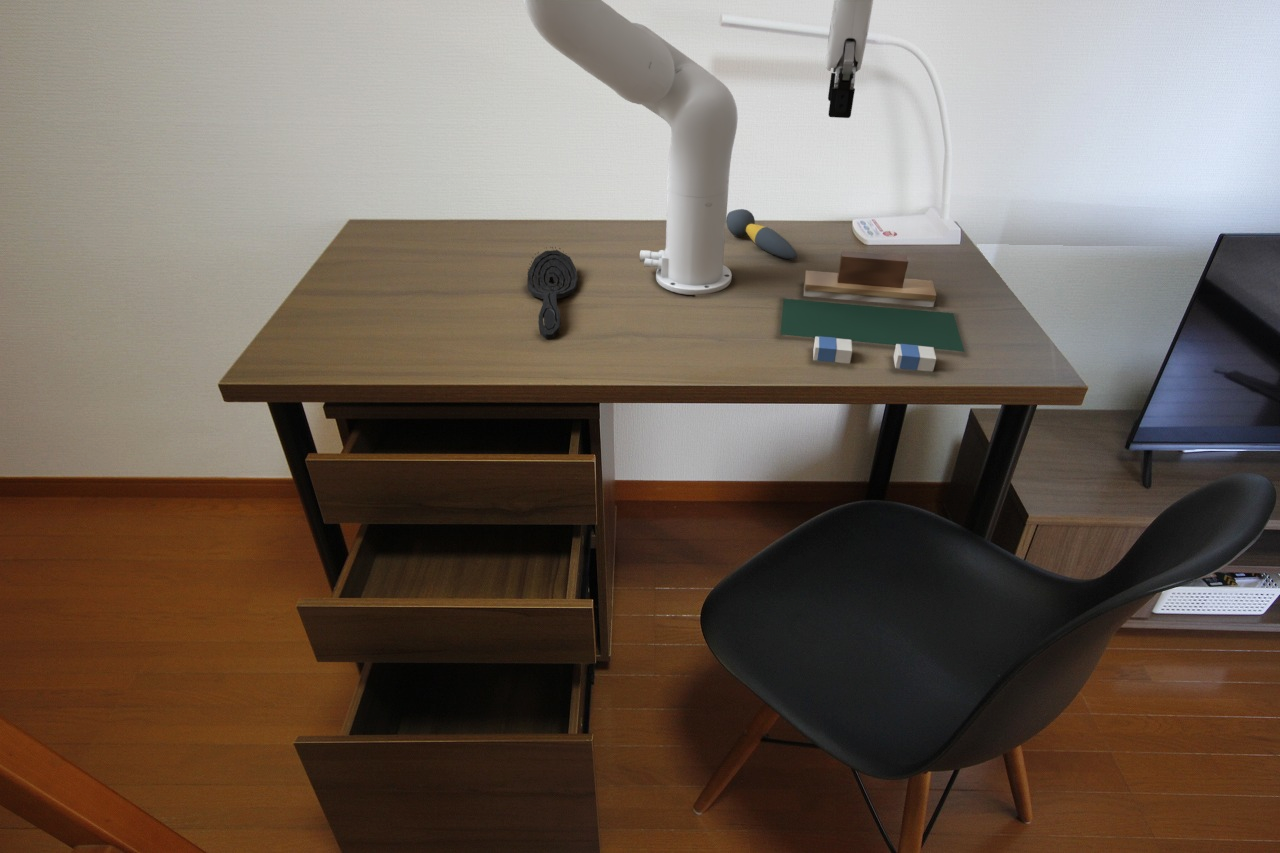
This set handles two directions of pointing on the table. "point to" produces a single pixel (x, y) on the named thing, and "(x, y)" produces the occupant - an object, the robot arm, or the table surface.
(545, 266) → the hairbrush
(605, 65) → the robot arm
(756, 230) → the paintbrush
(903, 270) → the scrub brush
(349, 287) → the table surface
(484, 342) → the table surface
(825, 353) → the eraser left
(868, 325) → the desk mat
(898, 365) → the eraser right
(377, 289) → the table surface
